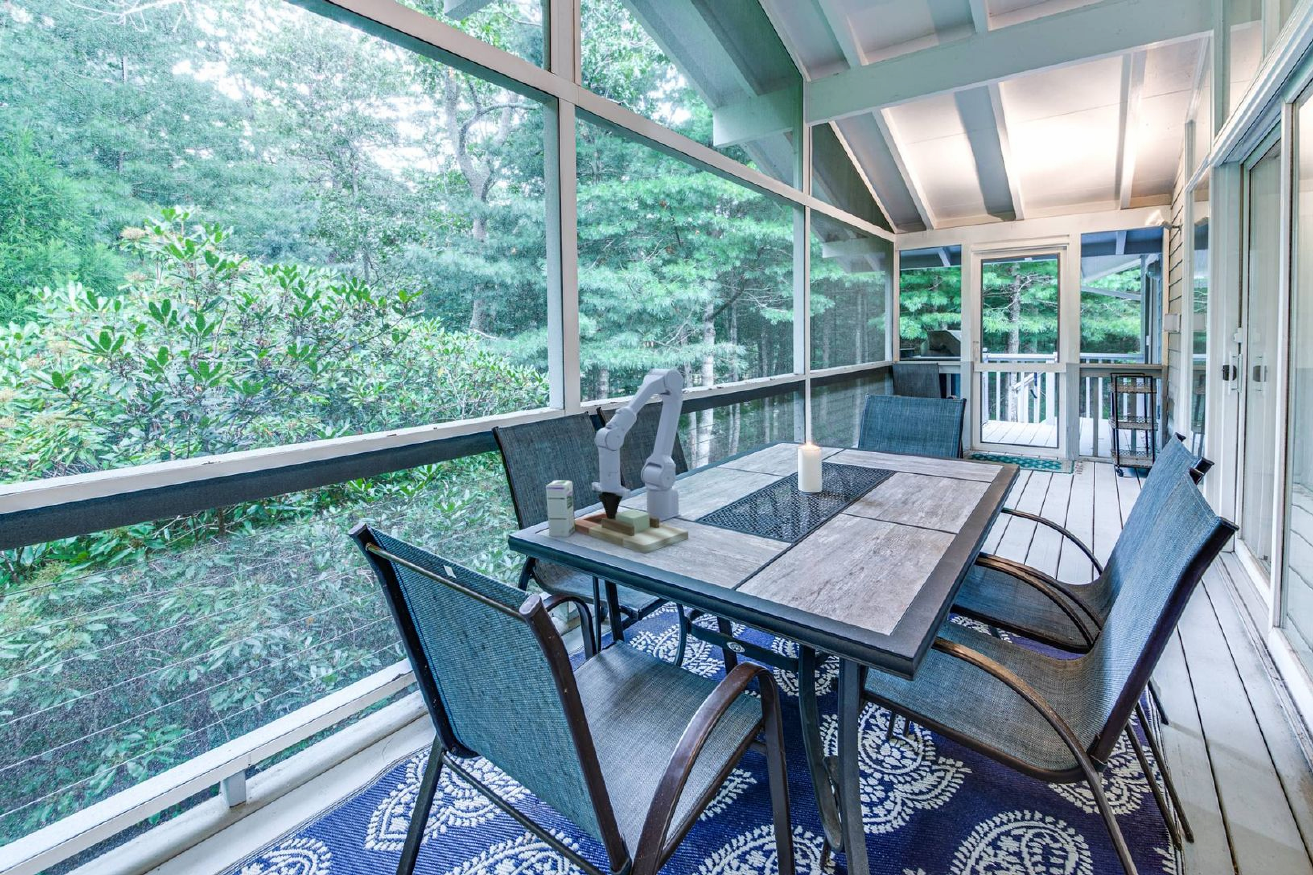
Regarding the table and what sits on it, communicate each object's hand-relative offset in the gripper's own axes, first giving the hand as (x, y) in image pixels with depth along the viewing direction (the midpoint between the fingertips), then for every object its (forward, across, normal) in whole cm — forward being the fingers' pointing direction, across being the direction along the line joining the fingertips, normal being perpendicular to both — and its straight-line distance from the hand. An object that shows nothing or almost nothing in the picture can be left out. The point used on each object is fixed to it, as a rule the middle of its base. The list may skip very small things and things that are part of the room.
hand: (611, 518), depth 176 cm
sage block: (+1, +9, 0) cm, 9 cm away
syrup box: (+3, -7, -12) cm, 14 cm away
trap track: (+3, +6, 0) cm, 7 cm away
